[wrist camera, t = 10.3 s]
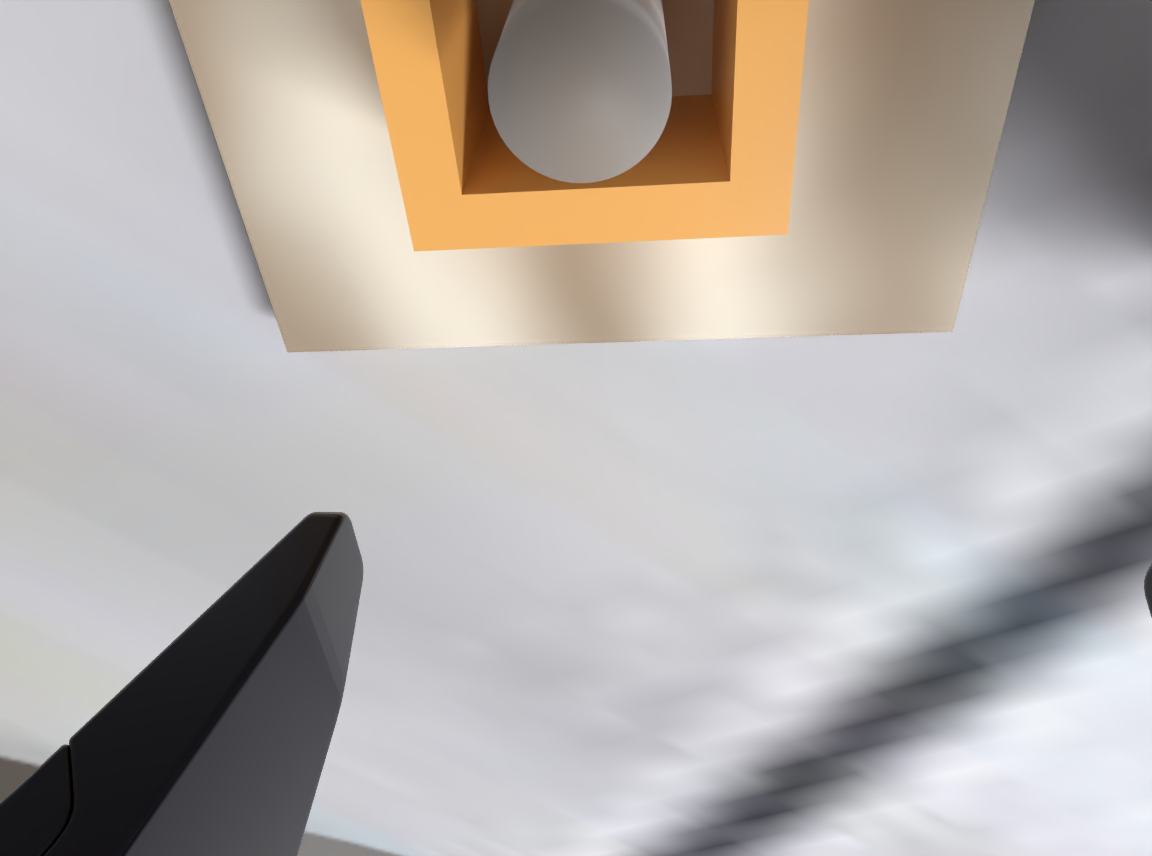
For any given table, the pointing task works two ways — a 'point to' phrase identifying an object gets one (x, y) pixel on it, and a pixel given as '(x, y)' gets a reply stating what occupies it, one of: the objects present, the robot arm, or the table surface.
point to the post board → (800, 284)
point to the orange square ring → (605, 208)
